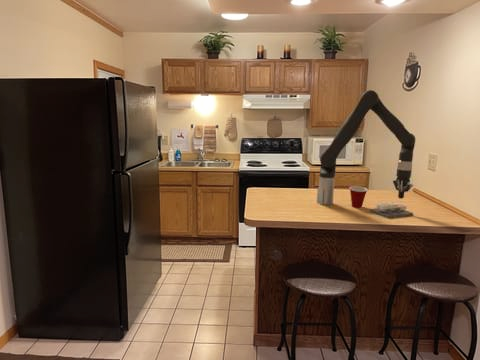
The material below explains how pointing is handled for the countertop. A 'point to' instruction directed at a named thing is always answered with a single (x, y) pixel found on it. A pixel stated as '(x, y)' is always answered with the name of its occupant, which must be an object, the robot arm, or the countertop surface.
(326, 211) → the countertop surface
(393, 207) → the key
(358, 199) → the plastic cup
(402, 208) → the key
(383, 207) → the key
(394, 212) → the keypad board
